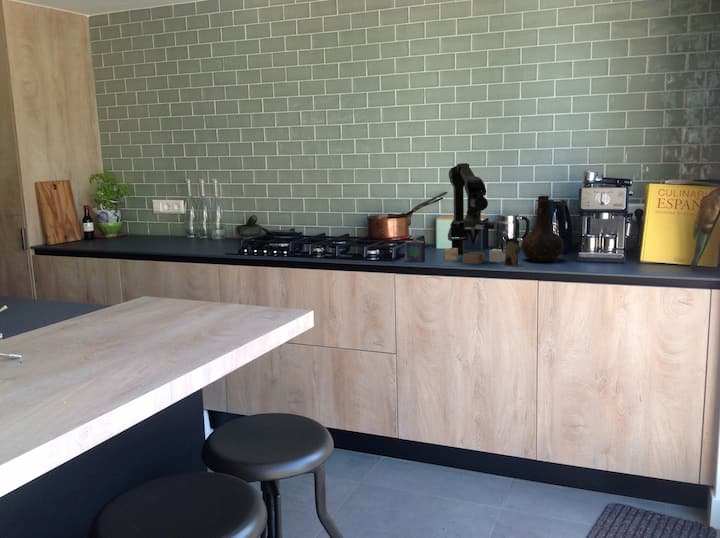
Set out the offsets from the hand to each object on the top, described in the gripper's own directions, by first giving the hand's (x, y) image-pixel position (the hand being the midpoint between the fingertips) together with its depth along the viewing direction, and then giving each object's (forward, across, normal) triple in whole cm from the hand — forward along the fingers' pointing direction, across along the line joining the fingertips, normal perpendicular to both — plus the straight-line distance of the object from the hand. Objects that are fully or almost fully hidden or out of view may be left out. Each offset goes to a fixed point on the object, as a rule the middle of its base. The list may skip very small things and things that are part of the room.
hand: (473, 244), depth 290 cm
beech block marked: (+8, -11, +3) cm, 14 cm away
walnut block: (+8, 0, 0) cm, 8 cm away
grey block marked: (+8, +9, +5) cm, 13 cm away
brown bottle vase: (+8, +27, +12) cm, 31 cm away
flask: (+8, -25, -6) cm, 27 cm away
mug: (+8, +16, -3) cm, 18 cm away
